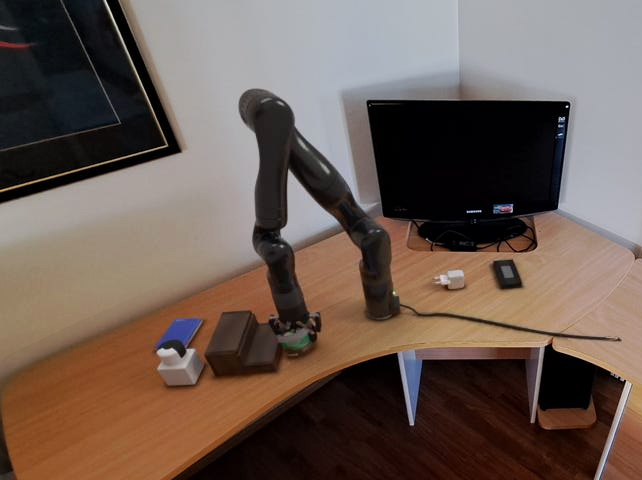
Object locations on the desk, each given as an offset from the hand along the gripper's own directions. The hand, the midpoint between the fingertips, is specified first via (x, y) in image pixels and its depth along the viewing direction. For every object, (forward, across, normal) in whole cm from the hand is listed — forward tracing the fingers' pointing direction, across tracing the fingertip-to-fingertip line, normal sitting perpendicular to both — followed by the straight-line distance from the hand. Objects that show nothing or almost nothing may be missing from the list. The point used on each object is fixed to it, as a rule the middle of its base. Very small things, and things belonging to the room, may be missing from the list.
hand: (302, 341), depth 131 cm
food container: (+3, 0, 0) cm, 3 cm away
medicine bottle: (+3, -30, -7) cm, 31 cm away
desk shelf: (+3, -14, 0) cm, 15 cm away
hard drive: (+3, -38, +9) cm, 39 cm away
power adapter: (+2, +45, +24) cm, 52 cm away
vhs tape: (+2, +67, +28) cm, 73 cm away
